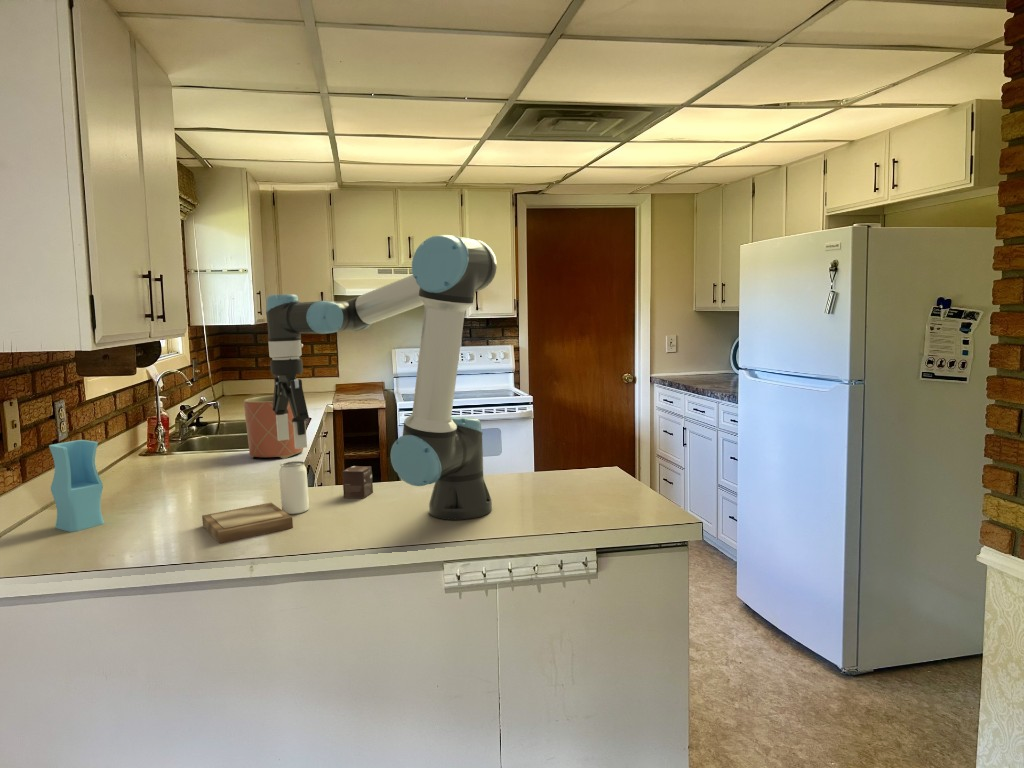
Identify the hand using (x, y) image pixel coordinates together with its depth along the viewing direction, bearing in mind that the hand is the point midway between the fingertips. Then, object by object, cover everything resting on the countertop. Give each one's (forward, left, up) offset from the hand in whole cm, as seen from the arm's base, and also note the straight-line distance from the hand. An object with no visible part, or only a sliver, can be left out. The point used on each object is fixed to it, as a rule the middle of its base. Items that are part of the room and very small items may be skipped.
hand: (292, 443), depth 171 cm
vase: (+23, +44, -17) cm, 53 cm away
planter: (+72, -18, -17) cm, 76 cm away
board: (-6, +13, -17) cm, 22 cm away
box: (+2, -18, -17) cm, 25 cm away
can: (-1, 0, -17) cm, 17 cm away
